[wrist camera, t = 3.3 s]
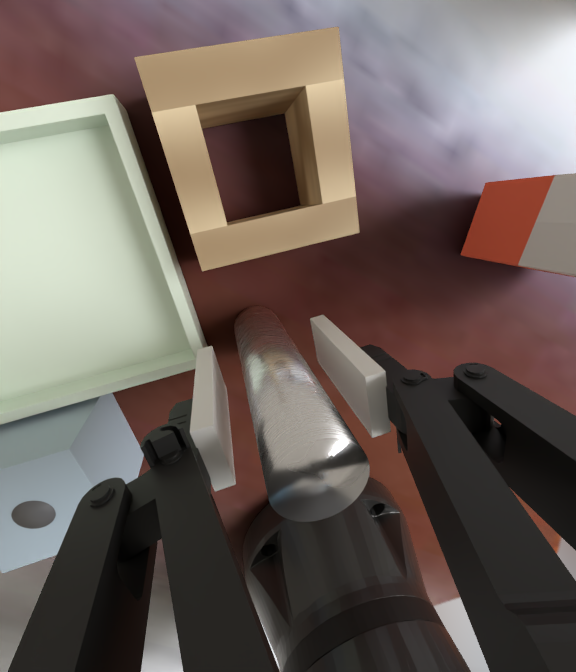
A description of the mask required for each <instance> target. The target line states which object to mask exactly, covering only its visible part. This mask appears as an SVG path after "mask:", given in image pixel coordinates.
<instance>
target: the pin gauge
mask: <svg viewBox="0 0 576 672" xmlns="http://www.w3.org/2000/svg"><path fill="white" fill-rule="evenodd" d="M234 333H235V338H236V342H237V347H238V352H239V357H240V362H241V367H242V372H243V377H244V382H245V386H246V391H247V396H248V401H249V406H250V411H251V416H252V421H253V426H254V430H255V435H256V440H257V445H258V450H259V455H260V460H261V465H262V470H263V474H264V479H265V484H266V489H267V494H268V499H269V502H270V504H271V506H272V508H273V509H274V510H275V511H276V512H277V513H278V514H279V515H281V516H282V517H284V518H286V519H289V520H292V521H298V522H312V521H318V520H322V519H325V518H328V517H331V516H333V515H335V514H337V513H339V512H341V511H342V510H344V509H345V508H347V507H348V506H349V505H351V504H352V503H353V502H354V501H355V500H356V499H357V497H358V496H359V495H360V494H361V492H362V491H363V489H364V487H365V486H366V483H367V481H368V477H369V471H370V468H369V461H368V458H367V456H366V454H365V453H364V451H363V450H362V448H361V446H360V445H359V443H358V442H357V440H356V439H355V437H354V436H353V434H352V432H351V431H350V429H349V428H348V426H347V425H346V423H345V422H344V420H343V419H342V417H341V415H340V414H339V412H338V411H337V409H336V408H335V406H334V405H333V403H332V401H331V400H330V398H329V397H328V395H327V394H326V392H325V391H324V389H323V387H322V386H321V384H320V383H319V381H318V380H317V378H316V377H315V375H314V373H313V372H312V370H311V369H310V367H309V366H308V364H307V363H306V361H305V359H304V358H303V356H302V355H301V353H300V352H299V350H298V349H297V347H296V346H295V344H294V342H293V341H292V339H291V338H290V336H289V335H288V333H287V332H286V330H285V328H284V327H283V325H282V324H281V322H280V321H279V319H278V318H277V316H276V314H275V313H274V312H273V311H272V310H270V309H269V308H267V307H264V306H251V307H248V308H246V309H245V310H243V311H242V312H241V313H240V314H239V315H238V316H237V318H236V320H235V324H234Z"/></svg>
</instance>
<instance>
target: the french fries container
mask: <svg viewBox="0 0 576 672" xmlns="http://www.w3.org/2000/svg"><path fill="white" fill-rule="evenodd" d="M461 255H462V256H465V257H470V258H476V259H481V260H486V261H491V262H496V263H502V264H507V265H512V266H517V267H523V268H528V269H533V270H539V271H544V272H550V273H555V274H561V275H566V276H572V277H576V173H575V174H563V175H552V176H543V177H534V178H524V179H515V180H506V181H497V182H488V183H486V184H485V186H484V189H483V192H482V195H481V198H480V201H479V204H478V206H477V209H476V212H475V215H474V218H473V221H472V224H471V226H470V229H469V232H468V235H467V238H466V241H465V244H464V246H463V249H462V252H461Z"/></svg>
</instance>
